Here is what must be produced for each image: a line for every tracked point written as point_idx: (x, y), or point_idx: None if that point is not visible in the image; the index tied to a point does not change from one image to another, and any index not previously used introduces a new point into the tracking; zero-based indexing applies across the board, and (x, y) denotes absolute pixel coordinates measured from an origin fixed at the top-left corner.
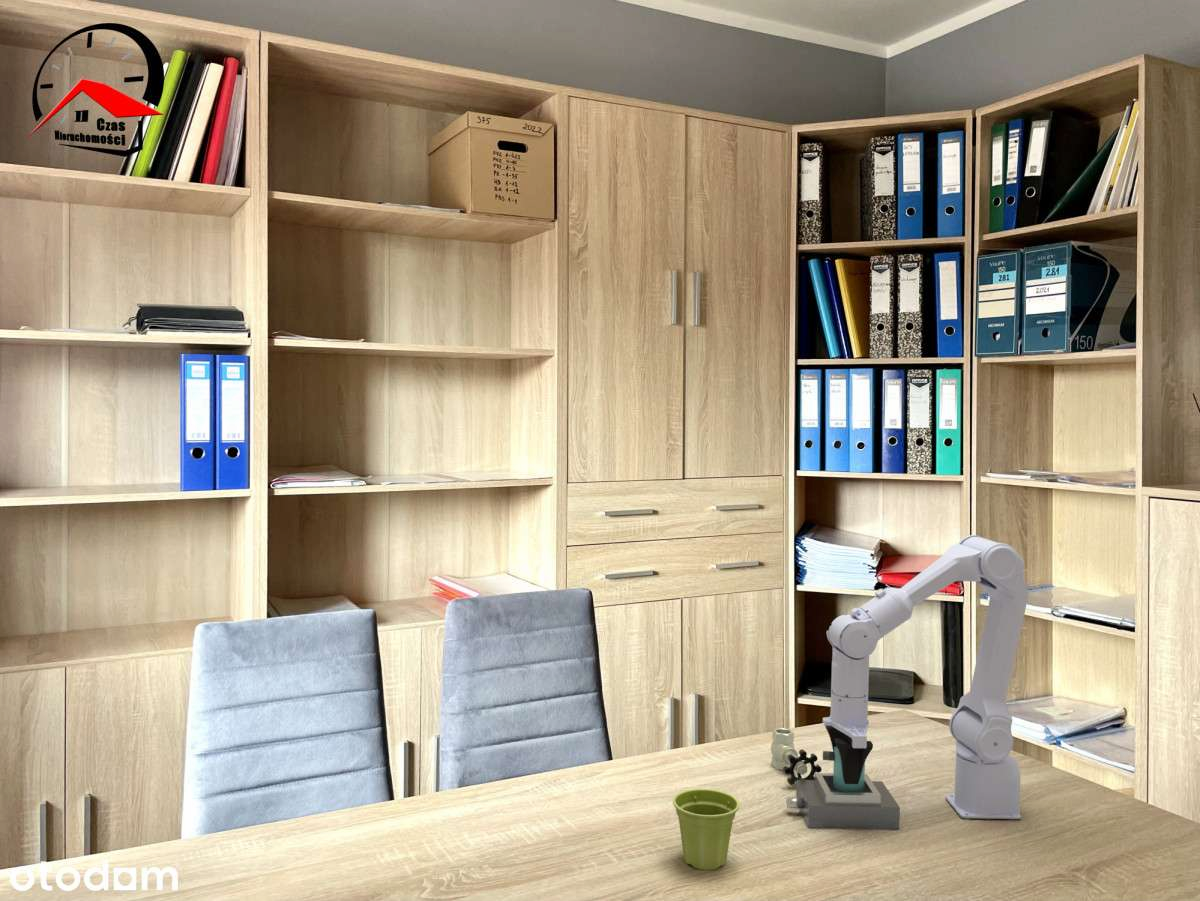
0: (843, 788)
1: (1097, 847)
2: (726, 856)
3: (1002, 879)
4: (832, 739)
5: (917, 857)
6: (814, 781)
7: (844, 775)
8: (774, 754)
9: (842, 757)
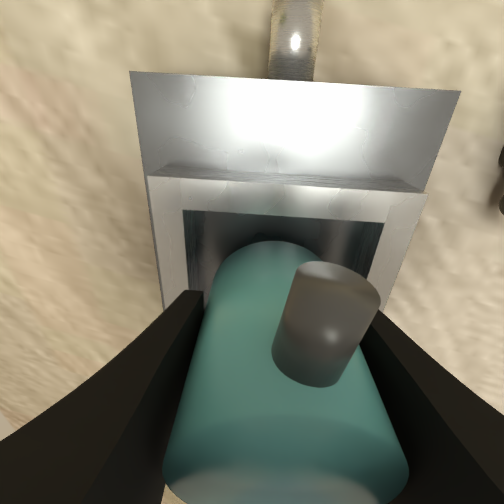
0: (218, 271)
1: (164, 495)
2: None
3: (25, 398)
4: (488, 492)
5: (59, 317)
6: (405, 182)
7: (162, 314)
8: None
9: (27, 425)
